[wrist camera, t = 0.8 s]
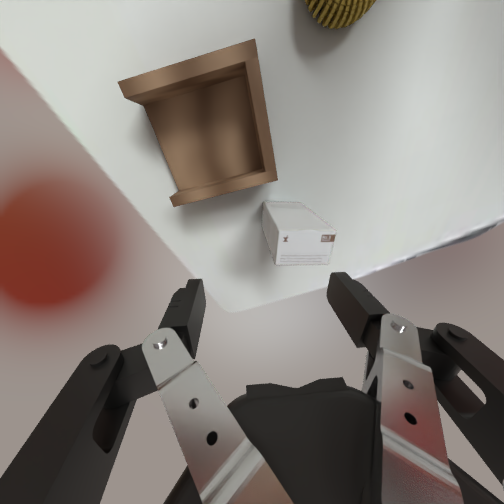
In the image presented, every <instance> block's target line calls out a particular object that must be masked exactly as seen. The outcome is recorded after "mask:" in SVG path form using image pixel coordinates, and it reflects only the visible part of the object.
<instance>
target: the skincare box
mask: <svg viewBox="0 0 504 504" xmlns="http://www.w3.org/2000/svg"><path fill="white" fill-rule="evenodd" d="M262 228H263V231H264V234H265V237H266V240H267V243H268V246H269V249H270V252H271V255H272V258H273V261H274V264H275V265H328V264H329V260H330V256H331V252H332V248H333V244H334V240H335V236H336V233H337V230H336V229H335V228H333V227H332V226H331V225H329V224H328V223H327V222H326V221H324V220H323V219H322V218H320V217H319V216H318V215H316V214H315V213H314V212H313V211H311V210H310V209H309V208H307V207H306V206H305V205H304V204H302V203H301V202H263V213H262Z"/></svg>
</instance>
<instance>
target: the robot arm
mask: <svg viewBox="0 0 504 504" xmlns="http://www.w3.org/2000/svg"><path fill="white" fill-rule="evenodd" d="M327 299H328V302H329V304H330V305H331V307H332V308H333V310H334V312H335V313H336V315H337V316H338V318H339V320H340V321H341V323H342V324H343V326H344V327H345V329H346V330H347V332H348V334H349V336H350V337H351V339H352V340H353V342H354V343H355V345H356V347H357V348H360V347H366V348H367V349H368V352H367V355H366V363H365V371H364V379H363V386H362V390H361V391H360V390H357V389H355V388H352V387H349V386H347V385H346V383H345V381H344V379H343V378H342V377H340V378H328V379H319V380H316V381H314V382H312V383H309V384H307V385H304V386H302V387H300V388H292V387H287V386H282V385H277V384H272V383H269V384H256V385H247V386H246V391H247V393H246V394H244V395H241V396H240V397H238V398H236V399H235V400H233V401H232V402H231V403H230V404H229V405H228V406H226V404H225V403H224V401H223V399H222V398H221V396H220V395H219V393H218V392H217V390H216V389H215V387H214V386H213V384H212V382H211V381H210V379H209V378H208V376H207V375H206V373H205V372H204V370H203V369H202V367H201V365H200V364H199V363H198V362H197V361H195V362H194V360H193V359H195V356H196V351H197V347H198V342H199V337H200V332H201V327H202V322H203V317H204V312H205V307H206V300H205V293H204V286H203V281H202V279H189V280H188V282H187V285H186V288H180V289H179V290H178V291H177V292H175V293H174V295H173V297H172V299H171V302H170V303H169V306H168V308H167V310H166V312H165V315H164V317H163V319H162V321H161V323H160V325H159V328H158V330H156V331H154V332H152V333H151V334H149V335H148V336H147V338H146V339H145V340H144V342H143V343H142V344H140V345H137V346H134V347H131V348H128V349H125V350H122V351H121V350H120V349H119V347H118V346H116V345H105V346H102V347H100V348H97V349H95V350H94V351H92V352H91V353H89V354H88V355H87V356H86V357H85V358H84V359H83V360H82V361H81V362H80V364H79V365H78V367H77V368H76V370H75V371H74V373H73V374H72V375H71V377H70V378H69V380H68V381H67V383H66V384H65V386H64V387H63V389H62V390H61V391H60V393H59V394H58V396H57V397H56V399H55V400H54V402H53V403H52V404H51V406H50V407H49V409H48V410H47V412H46V413H45V415H44V416H43V418H42V419H41V420H40V422H39V423H38V425H37V426H36V428H35V429H34V431H33V432H32V433H31V435H30V436H29V438H28V439H27V441H26V442H25V444H24V445H23V446H22V448H21V449H20V451H19V452H18V454H17V455H16V457H15V458H14V459H13V461H12V463H11V464H10V465H9V467H8V468H7V470H6V471H5V473H4V474H3V475H2V477H1V478H0V504H100V501H101V499H102V496H103V493H104V490H105V487H106V485H107V482H108V479H109V476H110V473H111V470H112V467H113V465H114V462H115V459H116V456H117V454H118V451H119V448H120V445H121V442H122V439H123V437H124V434H125V431H126V428H127V425H128V423H129V419H130V417H131V414H132V411H133V409H134V405H135V403H136V400H137V399H138V398H141V397H143V396H145V395H148V394H150V393H153V392H155V391H157V390H158V391H159V394H160V397H161V399H162V402H163V404H164V407H165V409H166V412H167V414H168V417H169V420H170V422H171V424H172V426H173V429H174V432H175V435H176V437H177V440H178V442H179V445H180V447H181V450H182V452H183V455H184V457H185V460H186V462H187V467H186V469H185V470H184V472H183V474H182V475H181V477H180V478H179V480H178V481H177V483H176V484H175V486H174V488H173V489H172V491H171V492H170V494H169V496H168V497H167V499H166V500H165V502H164V504H504V503H503V502H502V501H501V500H499V499H498V498H497V497H496V496H494V495H493V494H492V493H491V492H489V491H488V490H487V489H486V488H484V487H483V486H482V485H481V484H479V483H478V482H477V481H476V480H475V479H473V478H472V477H471V476H470V475H468V474H467V473H466V472H465V471H463V470H462V469H461V468H460V467H458V466H457V465H456V464H455V463H453V462H452V461H451V460H450V459H449V458H448V457H447V451H446V446H445V440H444V435H443V429H442V424H441V418H440V413H439V407H438V402H439V403H440V404H441V406H442V407H443V408H444V410H445V411H446V412H447V413H448V415H449V416H450V417H451V419H452V420H453V421H454V423H455V424H456V425H457V426H458V428H459V429H460V431H461V432H462V433H463V434H464V436H465V437H466V438H467V440H468V441H469V442H470V444H471V445H472V446H473V448H474V449H475V450H476V451H477V453H478V454H479V455H480V457H481V458H482V459H483V461H484V462H485V463H486V465H487V466H488V467H489V468H490V470H491V471H492V472H493V474H494V475H495V476H496V478H497V479H498V480H499V482H500V483H501V484H502V486H503V489H504V360H503V359H502V358H500V357H499V356H498V355H497V354H495V353H494V352H493V351H492V350H490V349H489V348H488V347H487V346H485V345H484V344H483V343H482V342H481V341H479V340H478V339H477V338H476V337H474V336H473V335H472V334H471V333H469V332H468V331H466V330H464V329H462V328H460V327H458V326H455V325H453V324H449V323H439V324H437V325H436V327H435V329H434V330H430V329H424V328H418V327H416V326H415V325H414V324H413V323H412V322H410V321H409V320H407V319H406V318H404V317H402V316H399V315H396V314H390V313H389V311H387V309H386V308H385V307H384V306H383V305H382V304H381V303H380V302H379V301H378V300H377V299H376V298H375V297H373V295H372V294H371V293H370V292H368V290H367V289H366V288H365V287H364V286H363V285H362V284H361V283H359V282H357V281H356V280H352V279H351V278H350V276H349V275H348V274H347V273H346V272H334V273H331V275H330V280H329V284H328V289H327ZM461 369H462V370H463V371H464V372H465V373H466V374H467V375H468V376H469V377H470V378H471V379H472V380H473V381H474V382H475V383H476V384H477V386H479V388H481V390H482V391H483V393H484V394H485V397H486V404H484V403H483V402H482V401H481V400H480V399H479V398H478V397H477V396H476V395H475V394H474V393H473V392H472V391H471V390H470V389H469V387H468V386H467V385H466V384H465V383H464V382H463V381H462V380H461V379H460V378H459V377H458V376H457V374H458V373H459V371H460V370H461ZM437 400H438V402H437Z"/></svg>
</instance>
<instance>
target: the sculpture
mask: <svg viewBox="0 0 504 504" xmlns="http://www.w3.org/2000/svg"><path fill="white" fill-rule="evenodd" d="M375 1H376V0H305V2H306V4H307V5H309V7H308V10H309V12H311V11H313V10H314V9H315V8H316V7H317V8H316V10H315V11H314V13H313V15H312V17H313V18H314V19H315V17H316V16H317V14H318V13H319V11H320V9H321V8H322V6H323V4H324V6H323V8H322V10H321V12H320V14H319V17H318V19H317V22H318V23H319V24H320V23H321V21H322V19H323V22H322V26H324V27H326V26H328V28H330V29H332V28H334V29H337V28H338V29H339V28H340V27H341V28H344V27H347V26H348V25H351V24H353V23H354V22H355V21H357V20H359V19H360V18H361V17H362V16H363V15H364V14H365V13H366V12H367V11H368V10H369V9H370V7H371V6H372V5H373V4H374V2H375ZM317 5H318V6H317ZM330 5H331V6H330ZM329 8H330V11H329ZM336 9H337V10H336ZM328 12H329V15H328ZM332 15H333V16H332ZM327 16H328V17H327ZM332 18H333V19H332ZM331 19H332V20H333V21H332V20H331ZM331 21H332V22H331ZM337 22H338V23H337Z"/></svg>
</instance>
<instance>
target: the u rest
mask: <svg viewBox="0 0 504 504" xmlns="http://www.w3.org/2000/svg"><path fill="white" fill-rule="evenodd" d="M118 84H119V86H120V89H121V91H122V93H123V95H124V98H126V99H128V100H131V101H133V102H135V103H138V104H140V105H143V106H144V108H145V110H146V113H147V115H148V117H149V120H150V122H151V125H152V127H153V129H154V132H155V134H156V137H157V139H158V141H159V144H160V146H161V149H162V151H163V153H164V156H165V158H166V161H167V163H168V165H169V168H170V170H171V173H172V175H173V177H174V180H175V182H176V185H177V187H178V189H179V191H178V192H176V193H175V194H174V195H172V196H171V197H169V198H170V200H171V202H172V204H173V207H176V206H180V205H184V204H187V203H191V202H195V201H199V200H203V199H207V198H211V197H215V196H218V195H222V194H226V193H230V192H234V191H238V190H242V189H246V188H249V187H253V186H257V185H261V184H265V183H269V182H273V181H277V180H278V178H277V172H276V165H275V159H274V153H273V147H272V141H271V134H270V128H269V122H268V116H267V110H266V104H265V97H264V91H263V85H262V79H261V73H260V67H259V60H258V54H257V48H256V42H255V39H252V40H249V41H245V42H242V43H239V44H236V45H233V46H230V47H226V48H223V49H220V50H217V51H214V52H211V53H207V54H204V55H201V56H198V57H195V58H192V59H188V60H185V61H182V62H179V63H176V64H173V65H169V66H166V67H163V68H160V69H157V70H154V71H150V72H147V73H144V74H141V75H138V76H135V77H131V78H128V79H125V80H122V81H119V82H118Z"/></svg>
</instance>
